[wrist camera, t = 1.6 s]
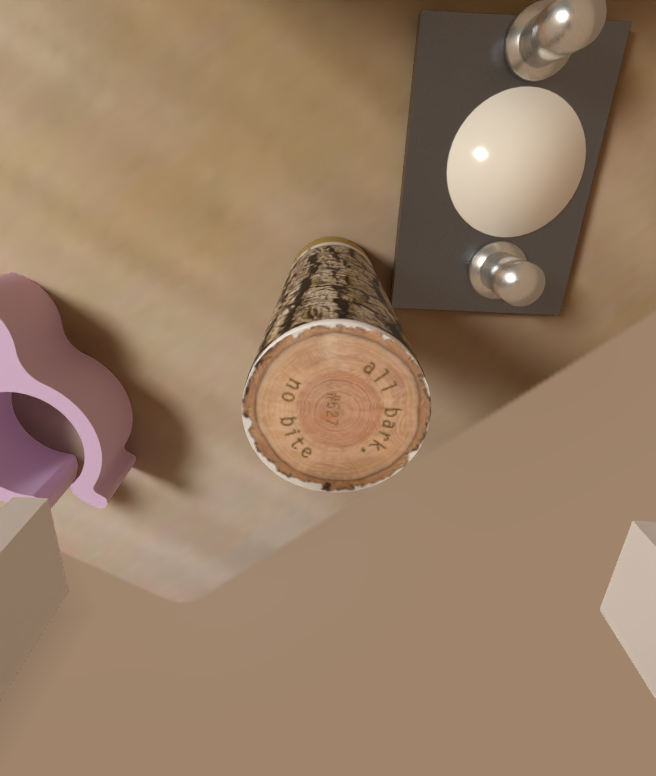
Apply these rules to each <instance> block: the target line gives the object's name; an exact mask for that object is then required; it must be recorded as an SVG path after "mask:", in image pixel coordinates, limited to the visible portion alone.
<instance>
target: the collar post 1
mask: <svg viewBox="0 0 656 776" xmlns="http://www.w3.org/2000/svg"><path fill="white" fill-rule="evenodd" d="M468 278H469V282H470V284H471V286H472V287H473V288H474V290H475V291H477V292H478V293H479V294H480V295H482V296H484V297H486V298H490V299H500V298H502V299H503V300H505V301H506V302H508V303H509V304H511V305H513V306H518V307H522V306H527V305H529V304H531V303H533V302H534V301H536V300H537V299H538V298H539V297H540V295H541V294H542V292H543V290H544V287H545V275H544V273H543V271H542V270H541V268H539V267H538V266H537V265H535V264H533V263H530V262H528V261H527V260H526V257H525V255H524V253H523V252H522V250H521V249H520V248H518V247H517V246H516V245H514V244H511V243H509V242H505V241H493V242H490V243H488V244H485V245H484V246H482V247H481V248H479V249H478V250H477V251H476V253H475V254H474V255H473V257H472V259H471V261H470V263H469V267H468Z"/></svg>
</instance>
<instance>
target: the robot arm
mask: <svg viewBox="0 0 656 776" xmlns="http://www.w3.org/2000/svg"><path fill="white" fill-rule="evenodd" d="M68 592H69V589H68V585H67V580H66V576H65V572H64V567H63V563H62V558H61V554H60V549H59V545H58V541H57V536H56V532H55V527H54V523H53V518H52V514H51V510H50V505H49V501H48V498H30V497H12V498H11V499H10V500H9V501H8V503H7V504H6V505H5V506H4V507H3V508H2V509H1V510H0V700H1V698H2V697H3V695H4V694H5V692H6V690H7V689H8V687H9V685H10V684H11V682H12V681H13V679H14V678H15V676H16V675H17V673H18V671H19V670H20V668H21V666H22V665H23V663H24V662H25V660H26V659H27V657H28V655H29V654H30V652H31V651H32V649H33V647H34V646H35V644H36V643H37V641H38V640H39V638H40V636H41V635H42V633H43V632H44V630H45V628H46V627H47V625H48V623H49V622H50V620H51V619H52V617H53V616H54V614H55V612H56V611H57V609H58V608H59V606H60V604H61V603H62V601H63V600H64V598H65V596H66V595H67V593H68ZM600 611H601V613H602V614H603V616H604V617H605V619H606V620H607V622H608V624H609V625H610V627H611V628H612V630H613V631H614V633H615V635H616V636H617V638H618V640H619V641H620V643H621V645H622V646H623V648H624V649H625V651H626V652H627V654H628V656H629V657H630V659H631V660H632V662H633V664H634V665H635V667H636V668H637V670H638V672H639V673H640V675H641V677H642V678H643V680H644V681H645V683H646V684H647V686H648V688H649V689H650V690H651V692H652V694H653V696H654V697H655V699H656V522H653V521H632V524H631V527H630V530H629V532H628V535H627V538H626V540H625V543H624V546H623V548H622V551H621V554H620V557H619V559H618V562H617V565H616V567H615V570H614V573H613V576H612V578H611V581H610V584H609V586H608V589H607V592H606V594H605V597H604V600H603V602H602V605H601V608H600Z"/></svg>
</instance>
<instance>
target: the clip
mask: <svg viewBox="0 0 656 776" xmlns="http://www.w3.org/2000/svg"><path fill="white" fill-rule="evenodd" d="M12 392H16V393H22V394H27V395H30V396H33V397H36V398H38V399H41V400H43V401H45V402H47V403H48V404H50V405H52V406H53V407H55V408H56V409H57V410H59V411H60V412H61V413H62V414H63V415H64V416H65V417H66V418H67V419H68V420H69V421H70V422H71V423H72V425H73V426H74V427H75V429H76V430H77V432H78V434H79V436H80V438H81V441H82V444H83V447H84V454H85V460H84V466H83V470H82V472H81V474H80V476H79V477H78V478H77V479H76V475H77V470H78V462H77V458H76V456H75V455H73V454H69V453H63V452H59V451H56V450H53V449H51V448H48V447H46V446H44V445H43V444H41V443H39V442H38V441H37V440H35V439H34V438H33V437H32V436H30V435H29V434H28V433H27V432H26V431H25V429H24V428H23V427H22V426H21V424H20V423H19V421H18V419H17V417H16V415H15V412H14V409H13V405H12ZM132 424H133V414H132V407H131V404H130V401H129V398H128V395H127V393H126V391H125V389H124V388H123V386H122V385H121V383H120V382H119V380H118V379H117V378H116V377H115V376H114V375H113V374H112V372H111V371H109V370H108V369H107V368H106V367H105V366H104V365H102V364H101V363H100V362H98V361H97V360H95V359H93V358H92V357H90V356H88V355H86V354H84V353H82V352H80V351H79V350H78V349H76V348H75V347H74V346H73V345H72V344H71V343H70V342H69V340H68V339H67V337H66V335H65V333H64V330H63V326H62V320H61V317H60V314H59V311H58V309H57V307H56V305H55V303H54V302H53V300H52V299H51V297H50V296H49V295H48V294H47V293H46V292H45V291H44V290H43V289H42V288H41V287H40V286H39V285H38V284H36V283H35V282H33V281H32V280H30V279H28V278H26V277H24V276H22V275H19V274H16V273H13V272H10V273H7V274H3V275H0V500H1V501H3V502H6V503H8V501H9V500H10V499H11V498H12V497H30V498H48V501H49V505H50V509H51V508H52V507H53V506H54V504H55V503H56V502H57V501H58V500H59V498H60V497H61V496H62V495H63V494H64V492H65V491H66V490H67V489H68V488H69V486H70V485H71V484H72V483H73V482H74V480H75V479H76V481H75V482H74V483H73V484H72V485H71V491H72V492H73V493H74V494H75V495H76V496H77V497H78V498H79V499H81V500H83V501H85V502H86V503H88V504H90V505H92V506H94V507H96V508H99V509H103V508H105V506H106V505H107V503H108V502H109V500H110V499H111V497H112V496H113V495H114V493H115V492H116V490H117V489H118V487H119V486H120V484H121V483H122V481H123V480H124V478H125V477H126V475H127V474H128V472H129V471H130V469H131V468H132V466H133V465H134V463H135V462H136V457H135V456H134V455H133V454H131V453H129V452H128V451H126V450H125V447H124V446H125V444H126V442H127V440H128V439H129V436H130V433H131V430H132Z"/></svg>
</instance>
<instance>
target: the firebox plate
mask: <svg viewBox="0 0 656 776" xmlns="http://www.w3.org/2000/svg"><path fill="white" fill-rule="evenodd" d="M517 16H518V15H502V14H484V13H467V12H449V11H431V10H421V12H420V14H419V15H418V25H417V35H416V45H415V56H414V66H413V76H412V86H411V96H410V106H409V116H408V126H407V136H406V146H405V156H404V166H403V176H402V187H401V197H400V207H399V217H398V227H397V237H396V247H395V257H394V267H393V277H392V287H391V297H390V303H391V305H392V307H393V308H408V309H430V310H452V311H474V312H495V313H517V314H539V315H560V311H561V307H562V303H563V299H564V295H565V291H566V287H567V283H568V279H569V275H570V270H571V266H572V262H573V258H574V254H575V250H576V246H577V242H578V238H579V234H580V230H581V226H582V222H583V218H584V214H585V209H586V205H587V201H588V197H589V193H590V189H591V185H592V181H593V177H594V173H595V169H596V165H597V161H598V157H599V152H600V148H601V144H602V140H603V136H604V132H605V128H606V124H607V120H608V116H609V112H610V108H611V104H612V100H613V96H614V91H615V87H616V83H617V79H618V75H619V71H620V67H621V63H622V59H623V55H624V51H625V47H626V43H627V39H628V35H629V30H630V26H631V22H627V21H609V20H605V23H604V26H603V28H602V30H601V32H600V33H599V35H598V36H597V37H596V39H595V40H594V41H593V42H591V43H590V44H589V45H587V46H585V47H583V48H581V49H579V50H577V51H575V52H573V53H571V55H570V57H569V59H568V60H567V62H566V63H565V65H564V66H563V67H562V68H561V69H560V70H559V71H558V72H557V73H555V74H554V75H552V76H550V77H548V78H546V79H544V80H541V81H537V82H526V81H522V80H520V79H518V78H517V77H515V76H514V75H513V74H512V73H511V71H510V70H509V68H508V66H507V64H506V61H505V56H504V43H505V38H506V35H507V32H508V29H509V27H510V25H511V24H512V22H513V21H514V19H515V18H516V17H517ZM530 86H531V87H538V88H543V89H546V90H549V91H551V92H553V93H555V94H557V95H558V96H560V97H561V98H563V99H564V100H565V101H566V102H567V103H568V104H569V105H570V106H571V107H572V109H573V110H574V111H575V113H576V114H577V116H578V118H579V120H580V122H581V125H582V128H583V131H584V136H585V143H586V158H585V165H584V170H583V174H582V177H581V180H580V182H579V185H578V187H577V189H576V191H575V193H574V195H573V196H572V198H571V200H570V201H569V202H568V204H567V205H566V206H565V208H564V209H563V210H562V211H561V212H560V213H559V214H558V215H557V216H556V217H555V218H554V219H553V220H551V221H550V222H549V223H547V224H546V225H544V226H543V227H541V228H539V229H537V230H535V231H533V232H530V233H528V234H524V235H521V236H515V237H496V236H491V235H488V234H485V233H482V232H480V231H478V230H476V229H475V228H473V227H471V226H470V225H469V224H468V223H467V222H465V221H464V219H463V218H462V217H461V216H460V215H459V213H458V212H457V210H456V209H455V207H454V205H453V203H452V201H451V198H450V195H449V192H448V186H447V177H446V170H447V160H448V155H449V151H450V148H451V145H452V142H453V140H454V137H455V135H456V133H457V131H458V130H459V128H460V126H461V125H462V123H463V122H464V121H465V119H466V118H467V117H468V115H469V114H470V113H471V112H472V111H473V110H474V109H475V108H476V107H478V106H479V105H480V104H481V103H482V102H484V101H485V100H487V99H488V98H490V97H491V96H494V95H496V94H498V93H500V92H502V91H505V90H508V89H511V88H517V87H530ZM493 241H505V242H509V243H511V244H514V245H516V246H517V247H518V248H520V249H521V250H522V252H523V253H524V255H525V257H526V260H527V261H528V262H530V263H533V264H535V265H537V266H538V267H539V268H541V270H542V271H543V273H544V275H545V287H544V290H543V292H542V294H541V295H540V297H539V298H538V299H537V300H536V301H534V302H533V303H531V304H529V305H527V306H522V307H518V306H513V305H511V304H509V303H508V302H506V301H505V300H503V299H502V298H500V299H490V298H486V297H484V296H482V295H480V294H479V293H478V292H477V291H475V290H474V288H473V287H472V286H471V284H470V282H469V278H468V267H469V263H470V261H471V259H472V257H473V255H474V254H475V253H476V251H477V250H478V249H479V248H481V247H482V246H484V245H485V244H488V243H490V242H493Z"/></svg>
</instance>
